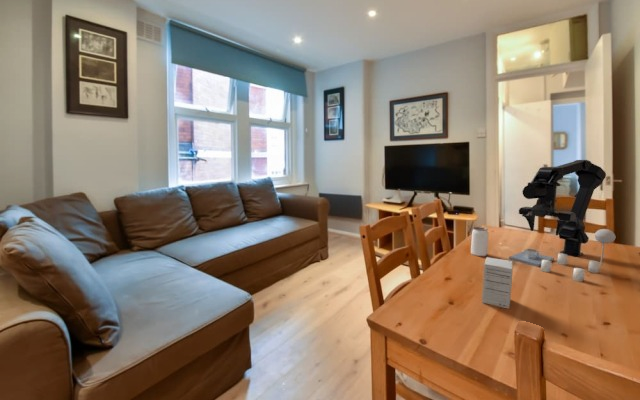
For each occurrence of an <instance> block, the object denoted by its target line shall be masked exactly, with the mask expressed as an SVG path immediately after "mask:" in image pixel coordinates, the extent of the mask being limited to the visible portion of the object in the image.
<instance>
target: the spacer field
mask: <svg viewBox="0 0 640 400" xmlns="http://www.w3.org/2000/svg"><path fill="white" fill-rule="evenodd" d="M568 256H569V255H568V254H563V253H560V252H559V253H557V260H556V263H557V265H562V266H566V265H567V261H568ZM600 262H601V261H598V260H593V259H590V260H588V267H587V268H588V270H587V271H588V272H590V273H593V274H599V273H600V268H601V267H600V266H601V265H600ZM551 269H552V261H550V260H542V263H541V266H540V271H541V272H544V273H550V272H551ZM585 271H586V270H585V269H584V268H580V267H574V268H573V272H572V280H573V281H576V282H581V283H582V282H584V280H585V273H586V272H585Z"/></svg>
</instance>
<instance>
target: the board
mask: <svg viewBox="0 0 640 400" xmlns="http://www.w3.org/2000/svg"><path fill="white" fill-rule="evenodd" d="M508 259H509V260H510V261H515V262H519V263H523V264H526V265H529V266H533V267H541V263H542V260H550V261H551V262H552V261H553V262H554V260H555V258H554V257H553V256H552V257H551V256H549V255H543V254H540V253H539V258H538V259H529V258H526V257H524V251H522V252H519V253H516V254H513V255H511V256H508Z"/></svg>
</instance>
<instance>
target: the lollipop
mask: <svg viewBox="0 0 640 400" xmlns="http://www.w3.org/2000/svg"><path fill="white" fill-rule="evenodd" d="M593 235H594V239H595V240H596V241H597V242H598V243H600V244H602V247H601V255H600V261H599V262H600V266H602V265H603V258H604V253H605V252H604V250H605V245H606V244H607V245H609V244H611V243H613V242H614V241H615V240H616V234H615V233H614V232H613V231H612V230H611V229H608V228H602V229H600V228H599V229H598V230H596V232H595V233H594V234H593Z"/></svg>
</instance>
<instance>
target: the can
mask: <svg viewBox="0 0 640 400" xmlns="http://www.w3.org/2000/svg"><path fill="white" fill-rule="evenodd" d="M488 242H489V232H488V228H486V227H481V226H479V227H477V226H475V227H473V229H472V231H471V243H470V244H471V245H470V246H471V247H470V253H471V255H473V256H476V257H485V256H487V255H488V244H489V243H488Z"/></svg>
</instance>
